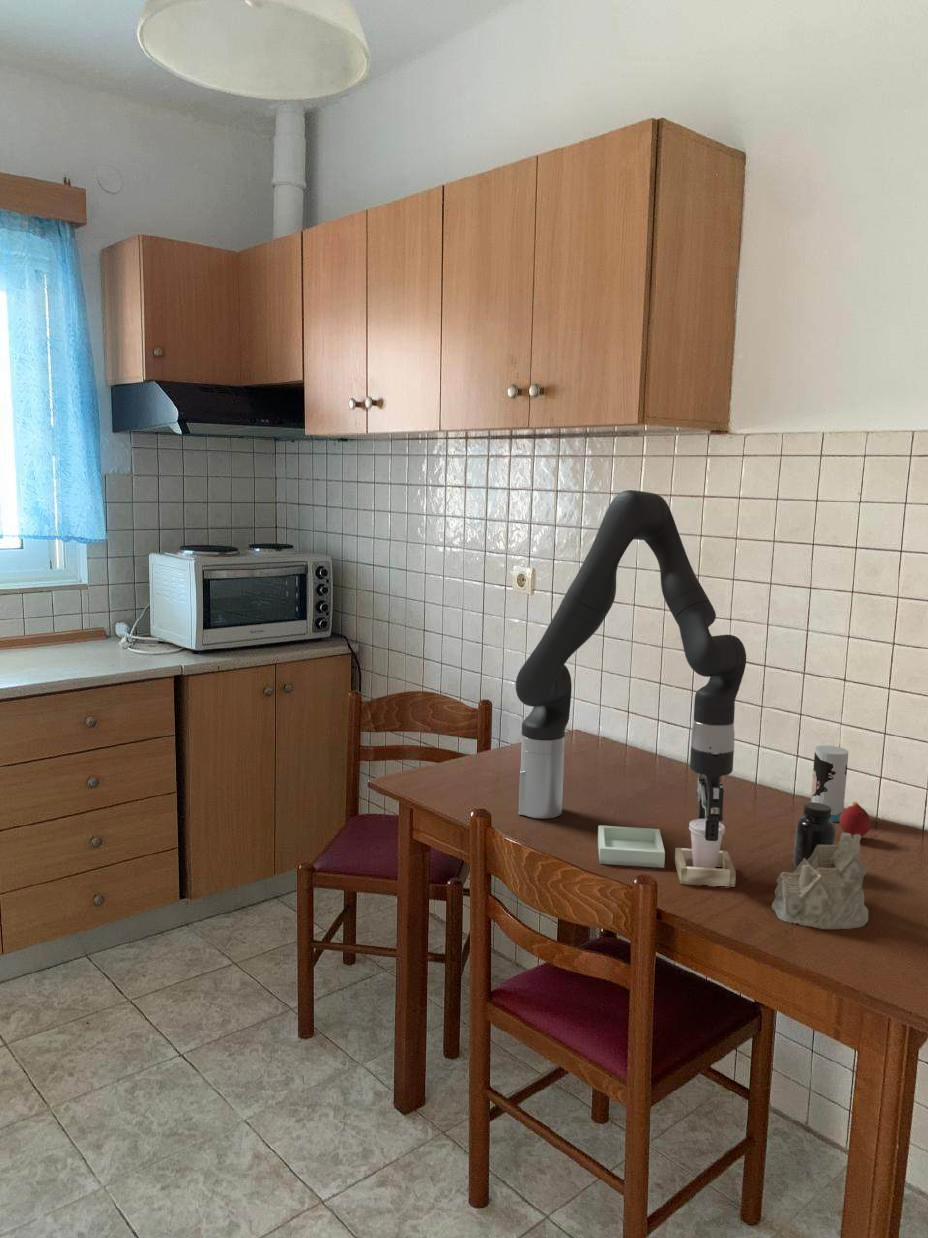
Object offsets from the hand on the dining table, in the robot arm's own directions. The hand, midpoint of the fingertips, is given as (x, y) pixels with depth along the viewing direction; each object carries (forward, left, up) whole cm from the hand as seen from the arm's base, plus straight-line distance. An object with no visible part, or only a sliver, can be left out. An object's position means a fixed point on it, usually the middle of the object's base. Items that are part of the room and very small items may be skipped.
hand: (707, 831), depth 169 cm
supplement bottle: (+21, +7, -9) cm, 24 cm away
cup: (+31, +36, -9) cm, 48 cm away
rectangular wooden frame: (0, 0, -8) cm, 8 cm away
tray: (-13, +8, -8) cm, 18 cm away
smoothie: (0, 0, -9) cm, 9 cm away
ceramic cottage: (+17, -10, -9) cm, 22 cm away
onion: (+33, +23, -9) cm, 41 cm away
